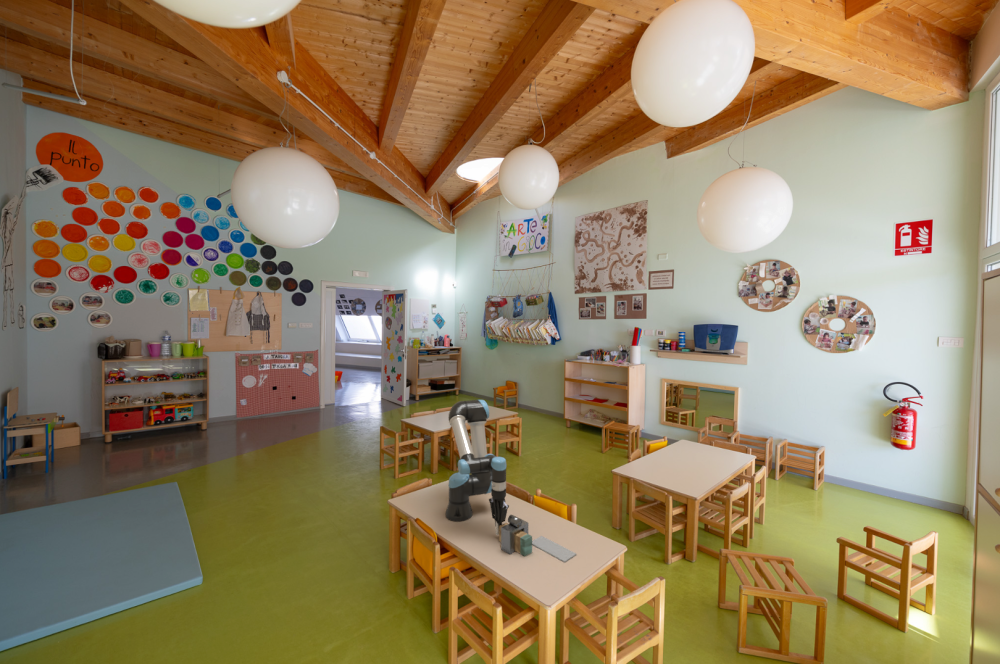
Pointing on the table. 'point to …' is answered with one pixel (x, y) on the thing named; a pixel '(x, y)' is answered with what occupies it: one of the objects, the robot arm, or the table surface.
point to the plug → (520, 541)
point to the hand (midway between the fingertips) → (498, 533)
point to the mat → (553, 549)
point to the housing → (511, 533)
